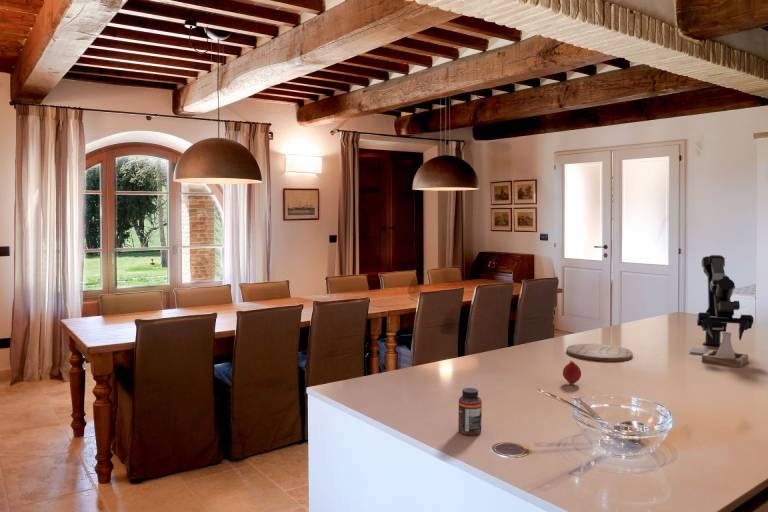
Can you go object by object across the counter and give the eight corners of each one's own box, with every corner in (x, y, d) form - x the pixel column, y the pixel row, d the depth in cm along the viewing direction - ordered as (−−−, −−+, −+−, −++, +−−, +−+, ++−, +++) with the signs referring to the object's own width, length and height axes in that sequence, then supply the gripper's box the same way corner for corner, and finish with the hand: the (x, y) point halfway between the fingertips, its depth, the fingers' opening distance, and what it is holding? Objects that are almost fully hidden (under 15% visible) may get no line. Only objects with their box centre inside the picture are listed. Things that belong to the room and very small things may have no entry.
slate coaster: (691, 349, 259) (692, 347, 259) (716, 351, 255) (716, 350, 255) (689, 353, 252) (690, 351, 251) (715, 356, 247) (715, 354, 247)
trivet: (563, 359, 244) (563, 354, 244) (569, 346, 267) (569, 341, 267) (632, 365, 234) (632, 360, 234) (632, 351, 257) (633, 346, 257)
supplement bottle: (456, 428, 166) (456, 386, 165) (478, 427, 166) (478, 386, 165) (460, 436, 160) (461, 393, 159) (483, 436, 160) (484, 392, 159)
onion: (581, 382, 210) (581, 359, 209) (580, 387, 204) (581, 363, 203) (562, 381, 211) (563, 357, 211) (561, 385, 206) (562, 361, 205)
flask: (718, 355, 244) (719, 330, 243) (738, 358, 239) (740, 332, 238) (712, 358, 239) (713, 333, 238) (733, 362, 234) (734, 335, 233)
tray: (710, 355, 248) (710, 349, 248) (747, 361, 240) (748, 354, 240) (701, 361, 238) (702, 355, 238) (740, 367, 230) (740, 360, 230)
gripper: (699, 291, 244) (701, 324, 234) (753, 294, 238) (758, 328, 228) (695, 308, 252) (698, 341, 242) (748, 311, 246) (753, 345, 236)
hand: (726, 338), depth 237 cm, fingers open, 9 cm apart
